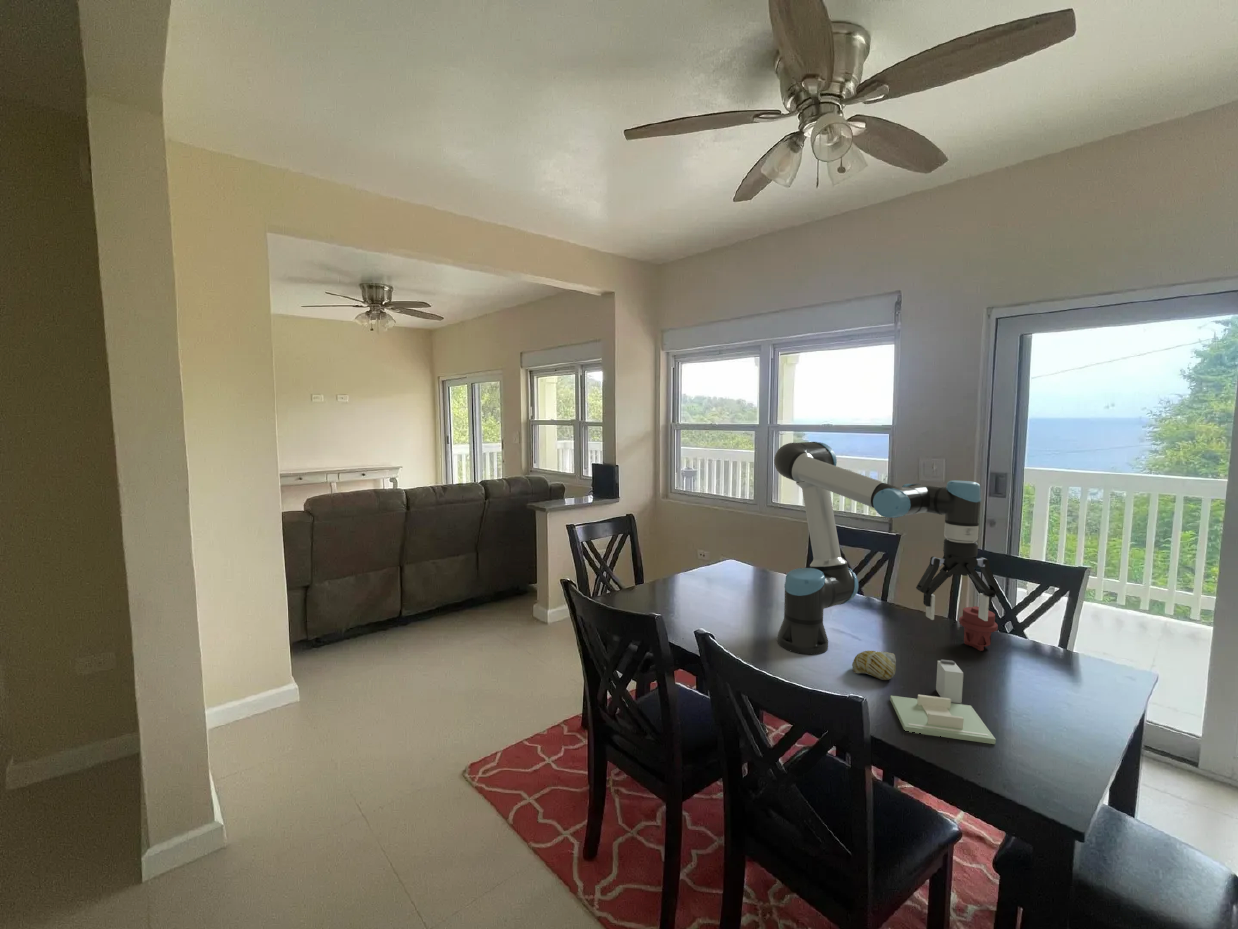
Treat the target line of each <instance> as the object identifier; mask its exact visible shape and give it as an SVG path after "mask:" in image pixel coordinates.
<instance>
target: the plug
mask: <svg viewBox="0 0 1238 929" xmlns="http://www.w3.org/2000/svg"><path fill="white" fill-rule="evenodd" d="M963 682H964V672H963V670H962V669H961V668H960V667H959V666H958V665H957V663H956V661H954V660H951V659H940V660H937V666H936V682H935V690H936V692H937V693H938V695H939V697H943V698H950V699H951V703H954V704H963V702H962V701H963V700H962V699H963V686H964V683H963Z"/></svg>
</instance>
